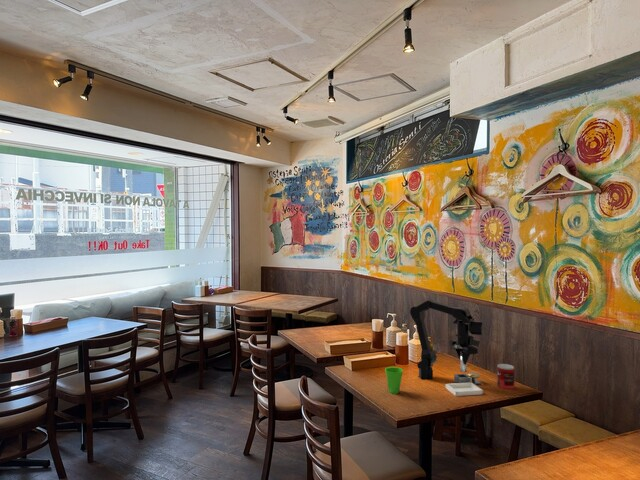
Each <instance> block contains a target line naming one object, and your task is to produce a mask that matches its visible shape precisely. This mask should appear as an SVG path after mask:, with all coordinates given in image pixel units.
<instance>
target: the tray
mask: <svg viewBox="0 0 640 480" xmlns="http://www.w3.org/2000/svg"><path fill="white" fill-rule="evenodd" d="M445 389H447V390H448V391H449V392H450V393H451V394H452V395H454V396H456V397H459V396H461V397H463V396H475V395H476V396H479V395H480V396H481V395H484V390H483V389H482V388H481V387H479V386H478V385H475V384H473V383H472V382H470V383H456V382H454V383H452V382H451V383H445Z"/></svg>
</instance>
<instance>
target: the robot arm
mask: <svg viewBox="0 0 640 480" xmlns="http://www.w3.org/2000/svg"><path fill="white" fill-rule="evenodd" d="M429 309H431V310H435V311H437V312H441V313H445V314H448V315H450V316H451V317H453V318H454V319H455V320H454V321H452V324H455V325H456V331H457V332H456V333H455V337H456V339H450V340H449V343H448V344H449V346H450V347H453V346H454V347H453V350H454V352H455V354H456V356H457V357H458V359H459V361H460V354H461V357H462V360H463V363H464V365H465V364H466V363H468V360H469V358H470V355H478V354H479V349H478V348H479V346H480V344H481V340H477V339H475V337H474V336H473V335H475V336H485V335H486V334H485V333H486V326H485V323H484V321H481V320H480V321H479V320H477V321H476V320H475V319H474V317H473V316H472V315H471V311H470V310H469V309H468V307H462V306H452V305H449V304H445V303H442V302H438V301H435V300H433V299H428V300H425V301H424V302H422V303H421V304H419V305H414V306H412V307H411V308H410V309H409V314H410V317H411V318H412V321H414V323H415V325H416V330H417V334H418V338H419V342H420V347H421V353H420V359H421V360H420V361H419V362H418V363H417V365H416V366H417V369H418V376H417V377H418V378H419V379H420V380H422V381H427V380H429V381H430V380H434V370H433V367H434V364H435V363H436V362H437V359H438V356H437V355H436V354H437V353H436V352H437V351H436V349H434V350H433V349H432V347H431V344H430V340H429V337H428V336H429V335H428V332H427V327H426V324H425V318H426V312H427V311H428V310H429ZM470 334H471V335H470Z"/></svg>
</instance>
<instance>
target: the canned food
mask: <svg viewBox="0 0 640 480" xmlns="http://www.w3.org/2000/svg"><path fill="white" fill-rule="evenodd" d="M496 368H497V370H496V371H497V374H496V376H497V377H496V378H497V387H499V388H501V389H504V390H512V391H513V390H514V389H515V366H514V365H512V364H508V363H499V364H497V367H496Z"/></svg>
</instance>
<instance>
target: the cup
mask: <svg viewBox="0 0 640 480" xmlns="http://www.w3.org/2000/svg"><path fill="white" fill-rule="evenodd" d="M384 371H385V375H386V382H387V387H388V392H389V393H390V394H395V395H396V394H399V393H400V391H401V385H402V384H401V383H402V377H403V372H404V369H403V368H401V367H397V366H388V367H385V369H384Z"/></svg>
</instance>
